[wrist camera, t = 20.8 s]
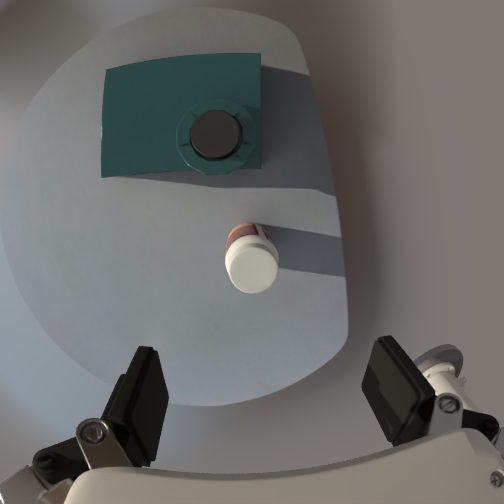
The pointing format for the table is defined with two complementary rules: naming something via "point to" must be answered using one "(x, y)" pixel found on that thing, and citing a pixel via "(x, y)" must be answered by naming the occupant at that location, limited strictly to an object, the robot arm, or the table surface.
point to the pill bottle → (251, 258)
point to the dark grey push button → (215, 134)
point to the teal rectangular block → (179, 113)
